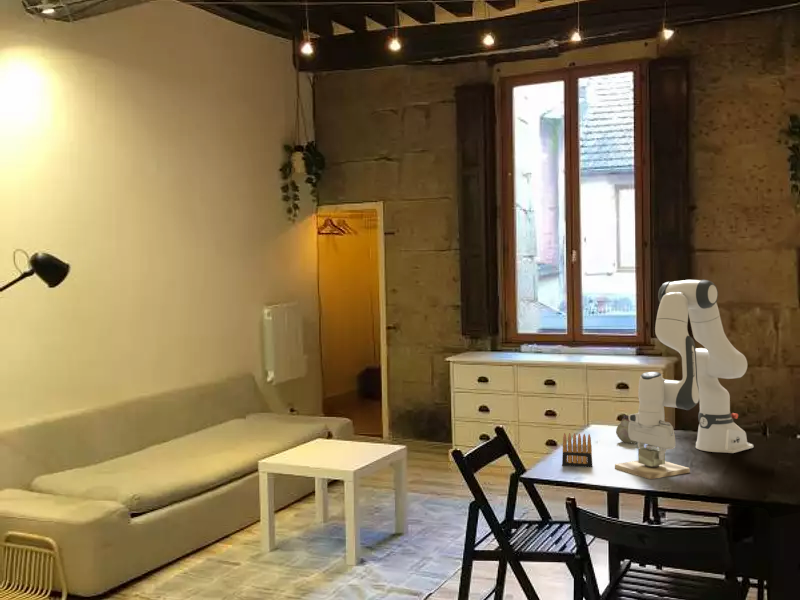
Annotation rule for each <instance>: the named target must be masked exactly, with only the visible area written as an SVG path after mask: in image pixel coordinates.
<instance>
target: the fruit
mask: <svg viewBox="0 0 800 600" xmlns="http://www.w3.org/2000/svg"><path fill="white" fill-rule="evenodd" d="M628 417H629V415H626V414H623V418H622V419H621V421H620V423H619V424H618V425H617V427H616V429H615V433H616V437H617V438H618V439H619V440H620V441H621V442H622V443H624V444H635V445H636V444H638V442H636V441H633V440H630V438H629V434H628V426H629V422H630V421H629V418H628Z"/></svg>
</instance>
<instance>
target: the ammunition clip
mask: <svg viewBox="0 0 800 600" xmlns="http://www.w3.org/2000/svg"><path fill="white" fill-rule="evenodd" d="M590 434H591V433H588V435H587V437H586V433H583V434H582V436H581V434H580V433H578V436H577V435H576V433H573V436H572V435H571V433H568V435H567V434H566V432H564V433H563V436H562V457H561V458H562V459H561V460H562V462H561V463H562V466H563V467H577V468H579V467H580V468H593V451H592V450H593V449H592V440H591V439H592V437H591V435H590ZM567 436H568V438H567Z"/></svg>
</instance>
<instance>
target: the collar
mask: <svg viewBox="0 0 800 600" xmlns="http://www.w3.org/2000/svg"><path fill="white" fill-rule="evenodd" d="M637 449H638V450H637V451H638V452H637V453H638V455H637V456H638V459H637V461H638V463H641V464H645V465H648V466H656V465H662V464H665V461H666V453H665V454H664V459H663V460H658V459H657V454H659V452H660V450H659V447H657V450H655V451H649V450H646V447H645V448H640V449H639V448H637Z"/></svg>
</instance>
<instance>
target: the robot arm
mask: <svg viewBox="0 0 800 600" xmlns="http://www.w3.org/2000/svg"><path fill="white" fill-rule="evenodd" d="M658 289H659V290H658V292H657V293H658V294H657V295H658V296H657V298H658V302H659V304H658V305H659V306H658V309H657V314H656V320H655V325H654V326H655V327H654V330H655V331H654V332H655V336H656V338H657V340H659V342H660V343H662V344H663V345H664V346H666V347H669V348H670V349H672V350H675V351H676V352H677V353H679V354H680V356H681V367H682V379H681V380H676V379H666V378H664V377H663V375H662V373H661V372H658V371H648V372H643V373H642V374H640V377H639V380H638V386H637V387H638V390H637V393H638V394H637V395H638V397H637V398H638V401H639V403H638V404H639V405H638V409H637V410H638V412H636V413H631V414H629V415H628V416H629V417H628V418H629V421H630V422H629V426H628V434H629V438H630V440H633V441H636V442H637V446H638V449H640V448H646V447H645V446H646V445H652V446H656V447H657V448H659V450H660V452H659V454H657V459H658V460H663V459H664V454H665V455H666V451H667V450H673V449H675V448H676V435H675V430H674V426H673V425H672V424H671V423H670V422H669V421H665V407H668V408H677V409H679V410H680V409H681V410H686V411H690V410H691V409H693V408H694V407H695V406H696V405H698V404H699V412H698V422H699V424H698V429H697V437H696V442H695V448H696V449H697V450H700V451H704V452H710V453H711V452H712V453H726V454H727V453H728V454H734V453H735V454H736V453H739V452H742V451H746V450H749V449H753V448H754V444H753V443H750V442H748V439H747V437H748V436H747V432H746V431H745V430H744V429H743V428H741V427H740V426H739V425H737V424H736V423H735V422H734V419H736V420H737V419H738V413H734V412H732V413H731V401H730V400H731V399H730V398H731V395H730V393H729V391H728V389H726V388H725V387H724V386H723V385H722V384H721V383H720V381H719V379H726V380H730V379H740V378H742V377H743V376H744V375H745V374H746V372H747V369H748V360H747V357H746V356H745V354H744V353H742V352H740V351H739V350H738V349H736V347H734V345H733V344H732V343H731V342H730V340H729V339H728V337H727V335H726V333H725V331H724V326H723V323H722V318H721V315H720V310H719V307H718V303H717V301H718V297H719V291H718V288H717V285H715V283H714V282H713V281H711V280H708V279H685V280H684V279H683V280H674V281H671V280H670V281H666V282H664V283H662V285H661V286H660V287H659V288H658ZM688 322H689V323H690V327H691V331H692V332H691V333H692V335H693V337H692V336H690V334H689V331H688V324H689V323H688ZM693 338H694V339H693ZM695 341H696V342H698V343H699V344H700V345H702V346H703V347H698V348H697V347H696V344H695Z"/></svg>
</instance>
